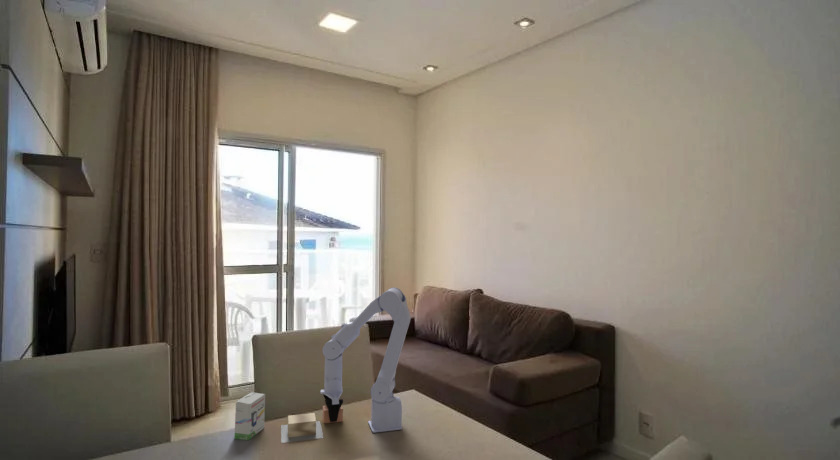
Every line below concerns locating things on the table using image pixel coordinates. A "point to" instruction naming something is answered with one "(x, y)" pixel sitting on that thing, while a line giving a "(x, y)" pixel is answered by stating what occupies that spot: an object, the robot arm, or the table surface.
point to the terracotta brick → (326, 415)
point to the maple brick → (301, 425)
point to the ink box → (249, 416)
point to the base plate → (300, 438)
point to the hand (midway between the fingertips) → (332, 418)
